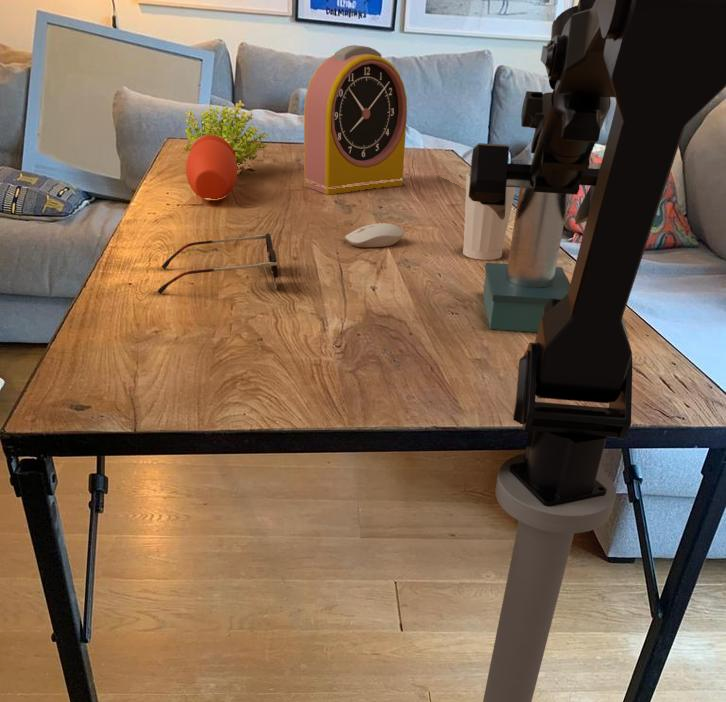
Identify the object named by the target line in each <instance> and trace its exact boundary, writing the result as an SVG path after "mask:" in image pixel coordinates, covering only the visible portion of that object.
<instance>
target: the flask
mask: <svg viewBox="0 0 726 702" xmlns="http://www.w3.org/2000/svg"><path fill="white" fill-rule="evenodd" d="M570 195H571V194H560V193H544V192H533V188H518V196H517V202H516V207H515V215H514V220H513V221H514V222H513V229H512V234H511V241H510V247H509V253H508V254H509V255H508V262H507V264H508V267H507V274H506V280H507V281H509V282H510V283H512V284H515V285H518V286H523V287H530V288H543V287H548V286H550V285H552V284H553V280H554V274H555V269H556V267H557V264H558V258H559V252H560V247H561V241H562V236H563V232H564V231H563V230H564V226H565V220H566V215H567V209H568V204H569V199H570Z"/></svg>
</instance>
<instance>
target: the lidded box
mask: <svg viewBox="0 0 726 702" xmlns="http://www.w3.org/2000/svg"><path fill="white" fill-rule="evenodd" d="M507 267H508V263H497V262H485V265H484V270H485V276H484V285H483V292H482V297H483V302H484V307H485V312H486V316H487V322H488V327H489V329H490V330H498V331H499V330H500V331H511V332H513V331H514V332H527V333H538V330H539V326H540V322H541V319H542V316H543V311H544V307H545V306H546V304H547V303H548V302H549V301H550V300H551V299H560V300H562V299H563V298H564V297H565V296H566V295H567V294H568V291H569V287H570V283H571V281H570V280H569V279H568V276H567V274H566V272H565V271H564V269H563V267H561V266H556V269H555V274H554V280H553V284H552V285H550V286H548V287H543V288H530V287H523V286H518V285H515V284H512V283H510V282H509V281H507V280H506V274H507Z"/></svg>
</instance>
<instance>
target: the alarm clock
mask: <svg viewBox="0 0 726 702" xmlns="http://www.w3.org/2000/svg"><path fill="white" fill-rule="evenodd" d="M407 117H408V98H407V93H406V89H405V84H404V81H403V80H402V78H401V76H400V73H399V71H398V70H397V69H396V67H395V66H394V65H393V64H392V63H391V62H390V61H388V60H387V59H385V58H384V57H382V54H381V53H380V52H379V51H378V50H376V49H374V48H372V47H370V46H365V45H356V44H353V45H347V46H344V47H342V48H341V49H338V50H337V51H335V52H334V54H333V55H331V56H330V57H328V58H326V59H325V60H324V61H323V62H322V63H321V64H320V65H319V66H318V67H317V68H316V69H315V71H314V73H313V75H312V77H311V78H310V81H309V83H308V86H307V89H306V93H305V97H304V107H303V147H304V148H303V153H304V154H303V169H304V170H303V178H304V177H305V178H307V179H309V180H311V181H314V182H317V183H319V184H321V185H324V186H327V187H332V186H341V185H347V184H353V183H361V182H370V181H380V180H391V179H400V178H404V166H405V165H404V163H405V151H406V150H405V149H406V148H405V147H406V134H407V132H406V131H407ZM304 185H305V186H308V187H310V188H312V189H315V190H317V191H316V192H318V191H319V192H318V193H321V192H322V194H325V195H335V194H343V193H344V194H345V193H350V192H351V191H352V192H359V191H358V190H360V191H366V190H365V189H368V190H374V189H373V188H376V189H383V188H382V187H384V188H391V187H399V186H402V185H403V180H402V181H394V182H386V183H378V184H369V185H361V186H353V187H345V188H336V189H324V188H321V187H318V186H315V185H312V184H309V183H306V182H304V181H303V186H304ZM312 189H311V190H312ZM315 190H314V191H315Z"/></svg>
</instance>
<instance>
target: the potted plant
mask: <svg viewBox="0 0 726 702" xmlns="http://www.w3.org/2000/svg"><path fill="white" fill-rule="evenodd" d="M208 106H209V107H208V108H209V110H208V109H206V110H205V111H204V110H201V114H200V115H201V116H200V121H201V124H200V125H201V128H198V126H199V122H200V121H198V120H197V118H196V117H195V112H192V109H191V108H190V109H189V110H188V112H187V111H186V112H185V115H187V117H185V124H187V125H189V126H187V128H184V131H185V133H186V134H185V135H186V137H187V139H188V142H187V144H189V146H188V145H186V146H185V147H183V150H184V151H185V152H189V153H188V155H187V159H186V164H185V175H186V180H187V183H188V185H189V187H190V189H191V190H192V191H193V192H194V193H195V195H197V196H198V195H199V196H200V197H199V196H198V197H199V198H201V197H202V198H201V200H205V199H203V198H211V199H218V198H222V197H224V196H226V195H228V194H229V193H230V194H231V193H232V192H233V190H234V189H235V186H236V183H237V179H238V176H237V170H238V169H237V163H238V165H240V164H243V162H245V163H246V162H247V160H249V161H252V160H254V159H255V158H256V157H257V158H258V155H257V154H256V153H258V150H259V149H265V148H267V146H268V144H265V142H262V139H266V136H267V137H268V136H269V135H268V133H267V132H263V133H262V132H260V129H259V128H258V126H255V127H254V124H251V125H249V126H248V128H247V129H246V125H248V122H250V120H252V119H253V118H252V117H253V113H250V114H249V113H247V112H246V111H245V110H242V109H243V108H242V107H245V104H244V103H243V102H242V100H241V99H239V101H238V102H236V103H235V107H234V106H233V107H231V108H230V107H229V106H228V105H226V106H225V105H223V106H222V109H221V107H216V108H212V104H209V105H208ZM229 108H230V109H229ZM220 109H221V112H220V111H219V110H220ZM241 110H242V111H241ZM203 111H204V112H203ZM209 111H210V112H209ZM233 111H234V112H233ZM219 114H220V116H218V115H219ZM237 115H241V116H237ZM219 118H220V120H218V119H219ZM245 129H246V130H245ZM192 131H194V134H193V132H192ZM243 132H244V133H243ZM258 132H260V134H259V135H258ZM242 134H243V135H242ZM255 135H257V136H256V137H255ZM251 138H252V139H251ZM254 161H255V160H254ZM239 163H240V164H239ZM230 194H229V195H230ZM229 195H228V196H229ZM224 199H225V198H222V199H220V200H216V201H215V202H218V201H222V200H224ZM205 201H207V202H209V201H208V200H205Z"/></svg>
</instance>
